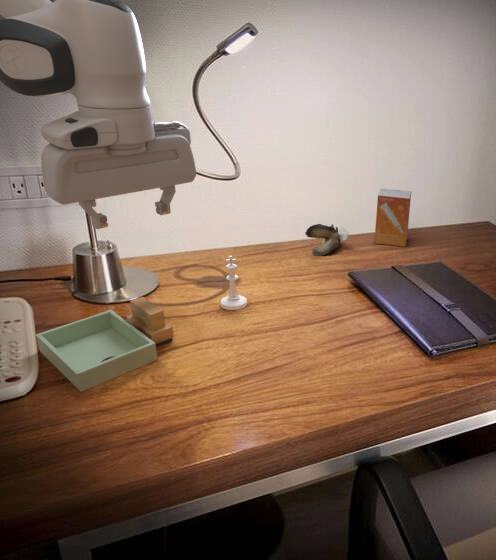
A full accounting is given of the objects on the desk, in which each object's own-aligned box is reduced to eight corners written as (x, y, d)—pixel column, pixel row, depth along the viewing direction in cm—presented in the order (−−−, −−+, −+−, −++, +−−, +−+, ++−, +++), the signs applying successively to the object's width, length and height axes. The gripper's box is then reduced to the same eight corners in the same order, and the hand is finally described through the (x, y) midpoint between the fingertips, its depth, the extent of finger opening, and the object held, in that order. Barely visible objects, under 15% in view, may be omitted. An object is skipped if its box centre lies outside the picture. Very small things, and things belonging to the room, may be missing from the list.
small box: (374, 244, 133) (377, 194, 127) (377, 235, 139) (379, 187, 133) (405, 247, 133) (410, 198, 127) (407, 238, 139) (411, 190, 133)
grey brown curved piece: (323, 234, 133) (298, 237, 126) (338, 215, 130) (314, 217, 122) (340, 257, 131) (316, 261, 124) (356, 238, 128) (332, 242, 120)
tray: (40, 355, 81) (35, 334, 80) (114, 328, 90) (111, 309, 88) (82, 396, 74) (76, 374, 72) (158, 363, 82) (155, 342, 80)
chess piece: (248, 308, 99) (246, 260, 95) (221, 311, 98) (217, 262, 93) (246, 296, 103) (243, 250, 99) (219, 299, 102) (215, 252, 97)
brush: (129, 334, 89) (123, 300, 86) (149, 326, 91) (144, 293, 88) (153, 353, 84) (148, 318, 81) (174, 344, 87) (170, 310, 84)
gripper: (176, 116, 82) (186, 201, 88) (26, 128, 67) (49, 229, 73) (199, 123, 78) (207, 211, 84) (46, 137, 64) (69, 242, 70)
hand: (133, 220), depth 79 cm, fingers open, 8 cm apart
